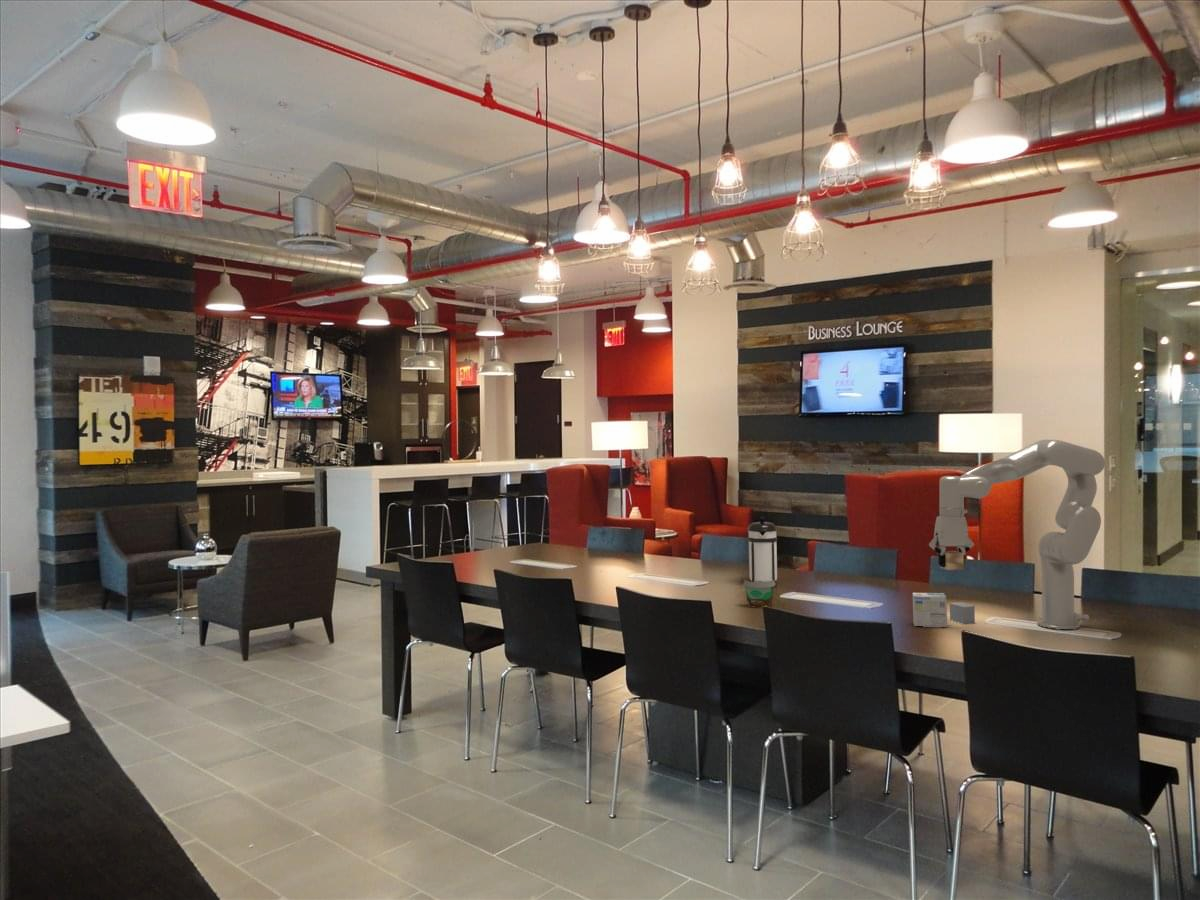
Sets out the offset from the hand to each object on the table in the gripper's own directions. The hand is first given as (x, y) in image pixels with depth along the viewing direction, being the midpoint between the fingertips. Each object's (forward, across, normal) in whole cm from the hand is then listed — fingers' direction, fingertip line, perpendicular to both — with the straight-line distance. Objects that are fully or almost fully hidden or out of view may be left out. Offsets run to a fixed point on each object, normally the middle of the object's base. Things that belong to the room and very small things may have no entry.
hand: (951, 566), depth 281 cm
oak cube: (+1, 0, 0) cm, 1 cm away
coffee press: (+22, +43, -90) cm, 102 cm away
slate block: (+21, -8, -9) cm, 24 cm away
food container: (+22, +55, -43) cm, 74 cm away
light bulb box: (+21, +5, -5) cm, 23 cm away
